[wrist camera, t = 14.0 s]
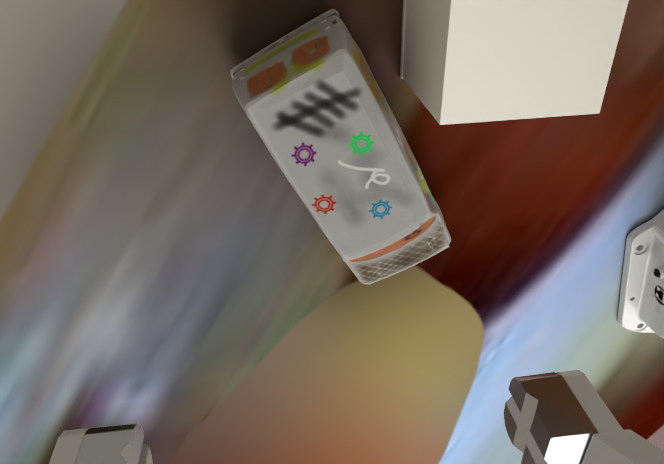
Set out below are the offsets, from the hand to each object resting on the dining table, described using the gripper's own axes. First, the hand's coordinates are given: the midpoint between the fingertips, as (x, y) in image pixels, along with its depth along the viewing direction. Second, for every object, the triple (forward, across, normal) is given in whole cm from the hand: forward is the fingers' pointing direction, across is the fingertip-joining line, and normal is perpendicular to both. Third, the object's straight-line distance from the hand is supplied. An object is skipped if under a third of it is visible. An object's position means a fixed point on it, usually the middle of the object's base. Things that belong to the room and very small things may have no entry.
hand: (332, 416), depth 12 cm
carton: (+39, -17, -2) cm, 43 cm away
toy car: (+40, -6, +12) cm, 42 cm away
